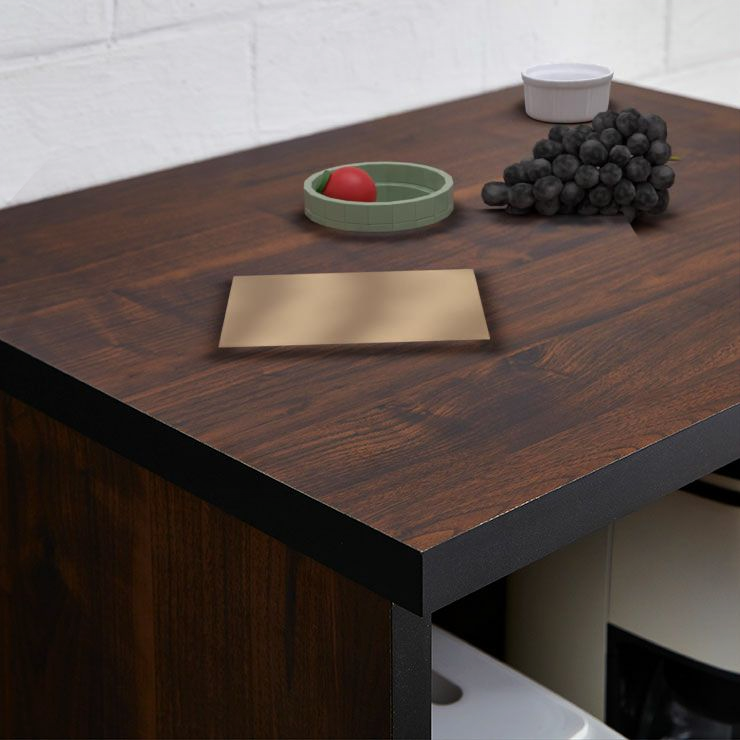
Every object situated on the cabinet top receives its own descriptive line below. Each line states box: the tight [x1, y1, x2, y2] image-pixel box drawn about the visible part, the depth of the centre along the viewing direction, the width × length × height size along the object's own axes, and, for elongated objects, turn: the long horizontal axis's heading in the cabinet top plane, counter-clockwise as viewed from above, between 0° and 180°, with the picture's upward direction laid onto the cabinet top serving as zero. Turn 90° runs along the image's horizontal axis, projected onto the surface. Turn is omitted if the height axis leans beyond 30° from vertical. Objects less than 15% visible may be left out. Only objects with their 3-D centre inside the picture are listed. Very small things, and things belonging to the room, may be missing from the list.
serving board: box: [218, 268, 491, 349], centre depth 87 cm, size 16×12×2 cm
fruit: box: [480, 106, 683, 224], centre depth 104 cm, size 9×8×15 cm
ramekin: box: [520, 61, 615, 124], centre depth 135 cm, size 9×9×4 cm
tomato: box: [315, 167, 377, 203], centre depth 104 cm, size 4×4×4 cm
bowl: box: [303, 161, 455, 233], centre depth 105 cm, size 11×11×4 cm
